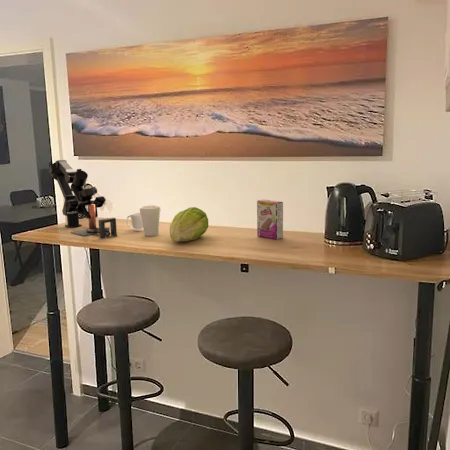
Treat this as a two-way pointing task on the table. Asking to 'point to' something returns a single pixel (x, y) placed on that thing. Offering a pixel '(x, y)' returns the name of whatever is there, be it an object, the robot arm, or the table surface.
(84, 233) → the mat
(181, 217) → the lettuce
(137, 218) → the cup
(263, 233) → the candy bar box
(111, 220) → the brown square arch
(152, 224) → the foam cup
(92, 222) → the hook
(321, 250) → the table surface
